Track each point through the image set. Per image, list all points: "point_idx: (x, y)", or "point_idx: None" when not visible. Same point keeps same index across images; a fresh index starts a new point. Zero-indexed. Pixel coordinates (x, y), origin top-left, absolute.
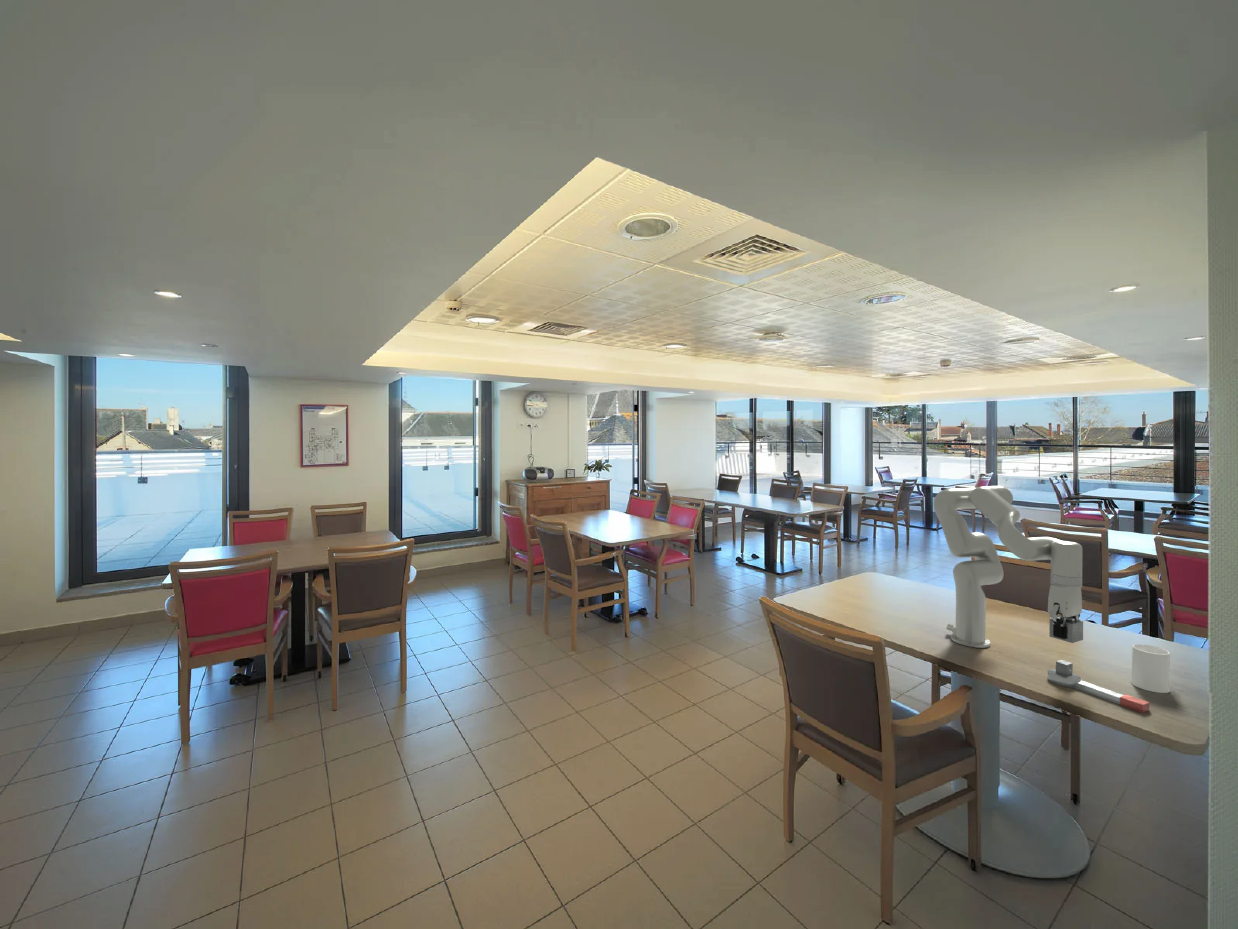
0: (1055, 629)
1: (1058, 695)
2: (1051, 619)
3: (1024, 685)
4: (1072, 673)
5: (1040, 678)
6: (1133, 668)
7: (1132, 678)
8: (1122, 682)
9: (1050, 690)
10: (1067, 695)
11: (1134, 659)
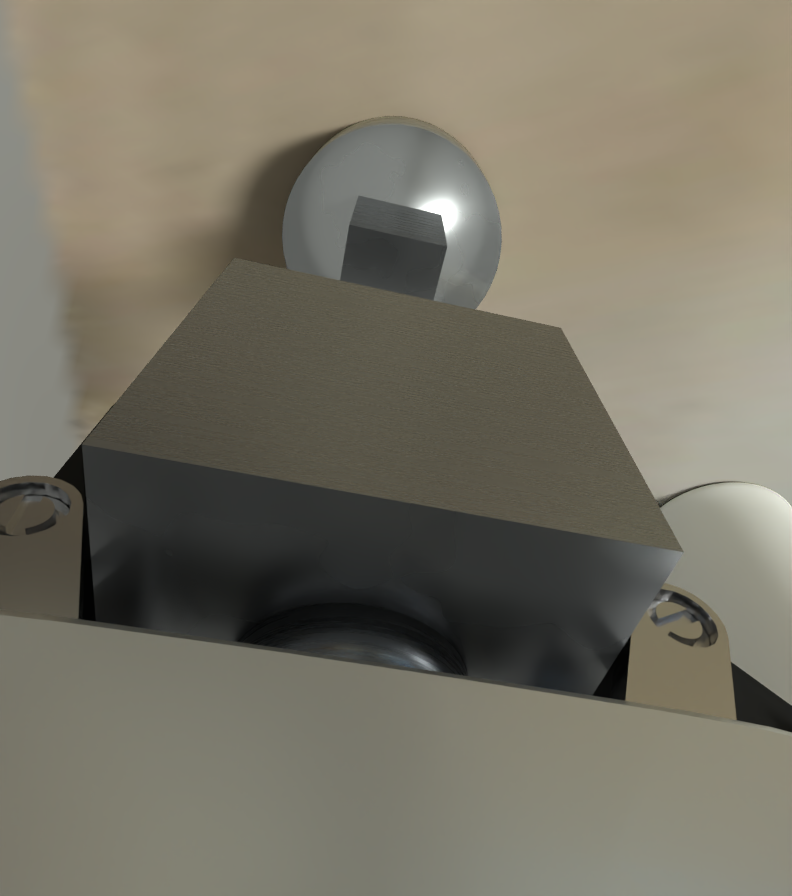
0: (78, 455)
1: (108, 268)
2: (99, 473)
3: (29, 29)
4: (473, 284)
5: (316, 76)
6: (728, 567)
7: (706, 514)
8: (684, 457)
9: (140, 207)
10: (167, 305)
11: (754, 624)
